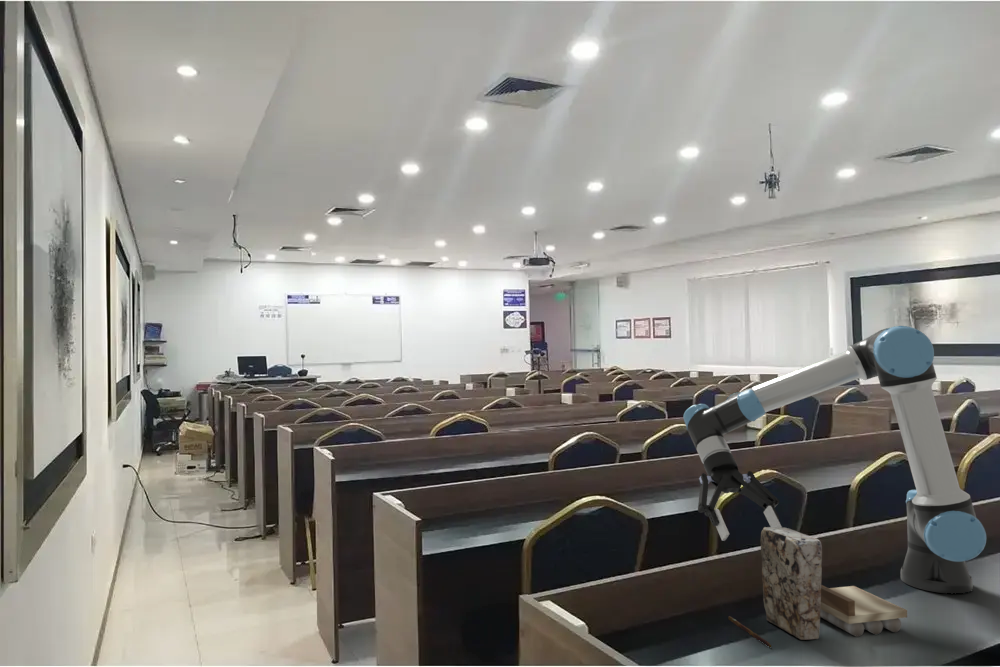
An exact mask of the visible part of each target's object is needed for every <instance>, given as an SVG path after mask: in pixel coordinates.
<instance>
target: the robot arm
mask: <svg viewBox="0 0 1000 667" xmlns="http://www.w3.org/2000/svg"><path fill="white" fill-rule="evenodd" d="M934 358H935V350H934V346H933V343H932V340H931V339H930V338H929V337H928V336H927V334H926V333H923V332H922V331H921V330H918V329H917V328H914V327H911V326H908V325H896V326H891V327H887V328H884V329H881V330H878V331H877V332H875V333H873V334H871V335H869V336H868V337H866V338H864V339H862V340H860V341H858V342H856V343H852V344H850V345H848V346H847V349H846V351H844V352H841V353H838V354H835V355H833V356H830V357H828V358H825V359H822V360H820V361H817V362H815V363H811V364H809V365H807V366H804V367H801V368H798V369H796V370H794V371H790V372H789V373H785V374H783V375H781V376H778V377H776V378H772V379H770V380H767V381H764V382H762V383H760V384H757V385H754V386H752V387H750V388H749V387H748V388H746V389H743V390H741V391H737V392H733V393H732V394H729V396H728V397H726V400H724V401H722V402H720V403H718V404H717V405H714V406H711V407H709V405H707V404H705V403H698V404H693V405H691V406H690V407H688V408H687V409H686V410H685V411H684V413H683V421H684V424H685V427H686V430H687V432H688V435H689V436H690V439H691V441H692V443H693V445H694V448H695V450H696V451H697V452H696V453H697V454H698V456H699V458H700V461H701V463H702V464H703V468H704V470H705V472H706V473H705V472H704V473H701V475H700V476H699V478H698V479H697V480H698V484H699V494H698V506H697V512H698V513H699V514H701V513H704V516H705V517H707V518H709V521H710V523H711V525H712V526H713V527H716V530H717V532H718V534H719V537H720V539H721V541H724V542H725V541H726V540H727V539H728V537H729V535H730V532H729V529H728V528H727V526H726V523H725V521H724V519H723V516H722V513H721V511H720V510H719V508H716V505H717V503H718V501H719V498H720V496H721V494H722V493H724V494H729V493H732V494H734V493H735V494H736V493H738V494H740V495H744V496H745V497H746V498H747V499H749V500H750V501H752V502H754V503H755V504H756V505H758V506H759V507H760V508H762V509H763V514H764V516H765V519H766V520H767V522H768V524H769V527H782V528H783V526H782V525H781V522H780V521H779V519H780V516H779V514H778V512H777V510H776V507H777V506H778V505H779V503H780V500H779V498H777V496H776V495H775V494H773V493H772V492H771V491H770V490H769V489H768V488H767V487H766V486H765V485H764V484H763V483H762V482H761V481H759V480H758V478H756V476H755V474H754V473H753V472H752V471H751V470H749V471H747V473H741V472H740V470H739V467H738V466H739V465H738V463H737V461H736V460H735V457H734V455H733V453H732V450H731V449H730V447H729V445H728V443H727V441H726V439H725V437H724V435H726V434H729V433H730V432H732V431H734V430H737V429H739V428H741V427H743V426H746V425H747V424H750V423H751V422H756V421H757V420H758V419H760V418H761V417H763V416H764V415H765V414H766V413H767V412H770V411H773V410H775V409H778V408H781V407H784V406H787V405H789V404H792V403H794V402H798V401H800V400H804V399H806V398H809V397H812V396H814V395H817V394H820V393H822V392H826V391H828V390H831V389H833V388H834V389H835V388H836V387H839V386H842V385H846V384H847V383H851V382H853V381H855V380H859V379H861V380H864V381H868V380H869V379H873V378H878V381H879V385H880V388H881V389H882V390H884V391H886V392H887V393H889V395H890V399H891V401H892V406H893V410H894V412H895V416H896V420H897V424H898V428H899V431H900V435H901V439H902V442H903V446H904V450H905V454H906V456H907V460H908V464H909V468H910V472H911V475H912V479H913V482H914V486H915V489H910V490H908V491H907V493H906V500H905V504H906V520H907V521H906V525H907V527H906V528H907V530H906V531H907V550H906V554H905V557H904V560H903V564H902V566H901V568H900V580H901V582H903V583H904V584H906V585H908V586H910V587H913V588H916V589H920V590H924V591H927V592H931V593H932V592H933V593H939V594H940V593H941V594H947V593H951V594H952V595H955V594H956V593H963V594H965V593H964V592H968V593H970V592H969V591H971V590H972V589H973V590H974V581H973V577H972V576H971V574H970V572H969V568H968V564H967V561H971V560H972V559H974V558H977V557H978V556H979V555H980V554H981V553H982V552H983V551H984V549H985V547H986V543H987V533H986V529H985V527H984V525H983V523H982V522H981V521H980V520H979V519H978V518H977V516H976V512H975V508H974V505H973V501H972V498H971V495H970V494H969V493H967V492H966V491H964V490H963V489H961V488H960V484H959V483H960V482H959V480H958V477H957V473H956V471H955V466H954V462H953V460H952V455H951V452H950V449H949V445H948V441H947V437H946V434H945V430H944V427H943V424H942V423H943V422H942V419H941V415H940V413H939V409H938V405H937V403H936V398H935V394H934V392H933V391H934V390H933V388H932V386H933V384H934V383H935V382H936V380H937V379H938V377H937V374H936V370H935V366H934V362H933V361H934ZM710 483H711V485H713V486H714V487H715V489H714V491H713V494H712V496H711V499H710V501H709V503H708V504H707V502H708V493H709V484H710ZM742 486H743V488H742ZM973 590H972V591H973ZM972 591H971V592H972ZM953 593H955V594H953ZM951 594H950V595H951ZM956 595H957V594H956Z"/></svg>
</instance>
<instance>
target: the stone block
mask: <svg viewBox="0 0 1000 667" xmlns="http://www.w3.org/2000/svg"><path fill="white" fill-rule="evenodd" d="M760 555H761V579H762V592H763V594H762V595H763V596H762V599H763V606H764V609H765V614H766V621H768V622H769V623H771V624H773V625H775V626H776V627H778V628H780V629H782V630H783V631H785V632H787V633H788V634H790V635H792V636H794V637H795V638H797V639H799V640H800V641H801V640H804V641H805V640H806V641H808V640H818V639H820V628H821V626H820V624H821V617H820V610H821V585H822V579H823V578H822V570H823V569H822V567H823V566H822V563H823V546H822V541H821V540H819V539H818V538H816V537H813V536H810V535H808V534H805V533H802V532H798V531H797V530H795V529H791V528H789V527H788V528H787V527H783V526H782V527H771V526H767V527H766V526H764V527H763V528H762V530H761V532H760Z"/></svg>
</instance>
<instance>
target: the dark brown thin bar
mask: <svg viewBox="0 0 1000 667" xmlns="http://www.w3.org/2000/svg"><path fill="white" fill-rule="evenodd" d="M727 620H728V621H730V622H732V623H733V624H734V625H735V626H737V627H739V628H740V629H741V630H743V631H744V632H746V633H747V632H748V633H749V635H750V636H751V635H752V636H751V637H753V638H754V639H755V638H756V640H757V641H758V640H760V641H761V642H763V643H764V644H766V645H767V646H769V647H771V648H772V644H771V643H770V642H769V641H767V639H764V638H763V637H761V636H760V635H759V634H758V633H756V632H754V631H752V630H751V629H750V628H748V627H747V626H745V625H743V624H742V623H741V622H740V621H738V620H737V619H735V618H734V617H732V616H731V615H728V618H727ZM748 633H747V634H748ZM760 641H759V642H760ZM761 642H760V643H761ZM763 643H762V644H763ZM764 644H763V645H764ZM767 646H766V647H767Z"/></svg>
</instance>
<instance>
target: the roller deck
mask: <svg viewBox="0 0 1000 667" xmlns="http://www.w3.org/2000/svg"><path fill="white" fill-rule="evenodd" d="M905 618H908V609H906V608H903V607H901V606H899V605H897V604H894V603H892V602H890V601H888V600H886V599H884V598H882V597H880V596H877V595H874V594H873V593H871V592H869V591H866V590H863V589H862V588H859V587H857V586H856V585H850V586H849V585H848V586H839V587H837V586H836V587H830V588H829V587H827V586H825V585H823V584H821V610H820V619H823V620H825V621H826V622H828V623H830V624H832V625H834V626H835V627H837V628H839V629H842V631H845V632H847V633H848V634H850V635H852V636H854V637H856V638H859V637H861V636H863V634H864V632H865V631H867V632H869V633H871V634H873V635H880V634H881V633H882V631H883V630H884V629H886V630H888V631H890V632H892V633H898V632H899V631H900V630H901V628H902V621H901V619H905Z"/></svg>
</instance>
